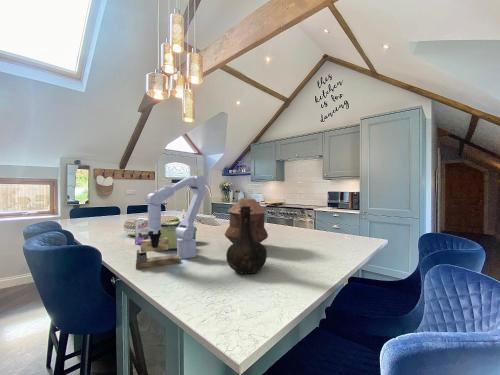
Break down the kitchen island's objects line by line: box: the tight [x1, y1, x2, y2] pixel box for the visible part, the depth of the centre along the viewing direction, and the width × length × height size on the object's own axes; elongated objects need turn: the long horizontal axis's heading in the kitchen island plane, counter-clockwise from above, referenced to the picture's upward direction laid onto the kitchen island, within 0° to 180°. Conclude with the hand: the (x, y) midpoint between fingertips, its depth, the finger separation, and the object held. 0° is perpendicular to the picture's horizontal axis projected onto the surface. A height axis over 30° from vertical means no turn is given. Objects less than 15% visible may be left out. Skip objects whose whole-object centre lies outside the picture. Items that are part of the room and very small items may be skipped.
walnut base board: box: [135, 253, 180, 270], centre depth 112 cm, size 19×7×2 cm, turn 115°
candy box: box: [134, 217, 151, 245], centre depth 154 cm, size 14×6×16 cm, turn 80°
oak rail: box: [140, 238, 168, 253], centre depth 112 cm, size 12×4×5 cm, turn 115°
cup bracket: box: [136, 249, 148, 263], centre depth 109 cm, size 4×6×4 cm
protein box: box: [158, 221, 182, 252], centre depth 141 cm, size 10×16×16 cm
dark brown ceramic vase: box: [225, 206, 268, 274], centre depth 103 cm, size 18×18×28 cm
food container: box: [192, 226, 198, 240], centre depth 155 cm, size 12×6×10 cm, turn 168°
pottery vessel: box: [224, 197, 269, 244], centre depth 139 cm, size 26×26×30 cm
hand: (154, 246), depth 112 cm, fingers closed on oak rail, 3 cm apart
